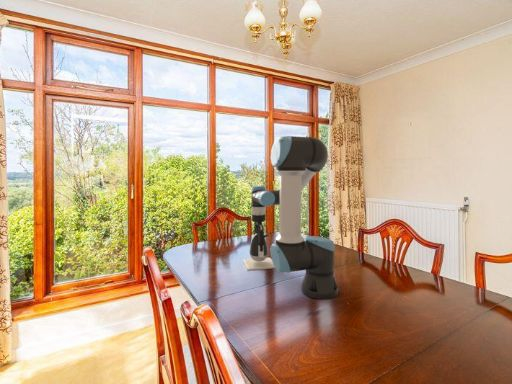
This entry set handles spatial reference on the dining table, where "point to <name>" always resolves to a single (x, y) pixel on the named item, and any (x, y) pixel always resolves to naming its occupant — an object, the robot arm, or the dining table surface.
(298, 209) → the robot arm
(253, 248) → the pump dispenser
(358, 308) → the dining table surface
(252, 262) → the trivet
